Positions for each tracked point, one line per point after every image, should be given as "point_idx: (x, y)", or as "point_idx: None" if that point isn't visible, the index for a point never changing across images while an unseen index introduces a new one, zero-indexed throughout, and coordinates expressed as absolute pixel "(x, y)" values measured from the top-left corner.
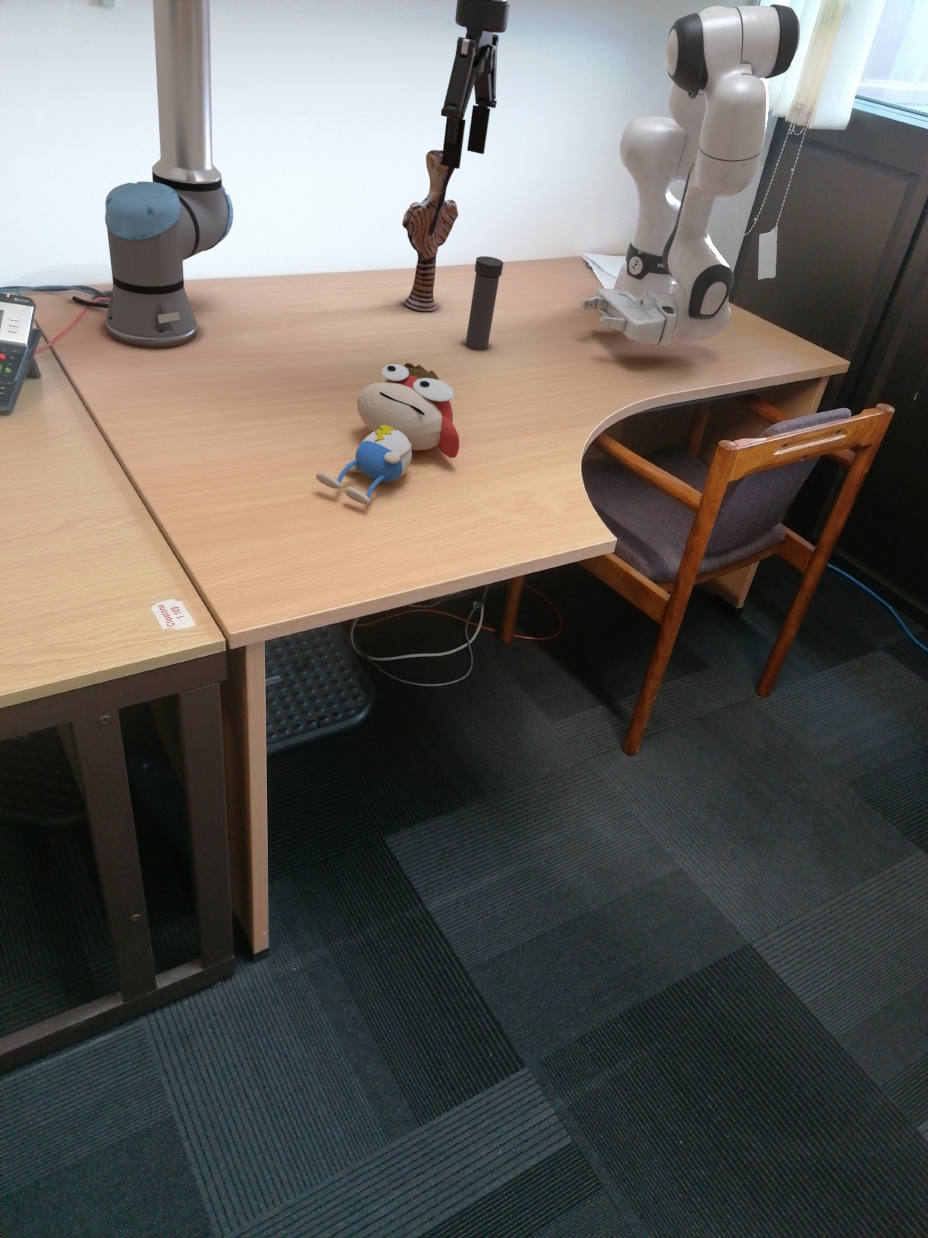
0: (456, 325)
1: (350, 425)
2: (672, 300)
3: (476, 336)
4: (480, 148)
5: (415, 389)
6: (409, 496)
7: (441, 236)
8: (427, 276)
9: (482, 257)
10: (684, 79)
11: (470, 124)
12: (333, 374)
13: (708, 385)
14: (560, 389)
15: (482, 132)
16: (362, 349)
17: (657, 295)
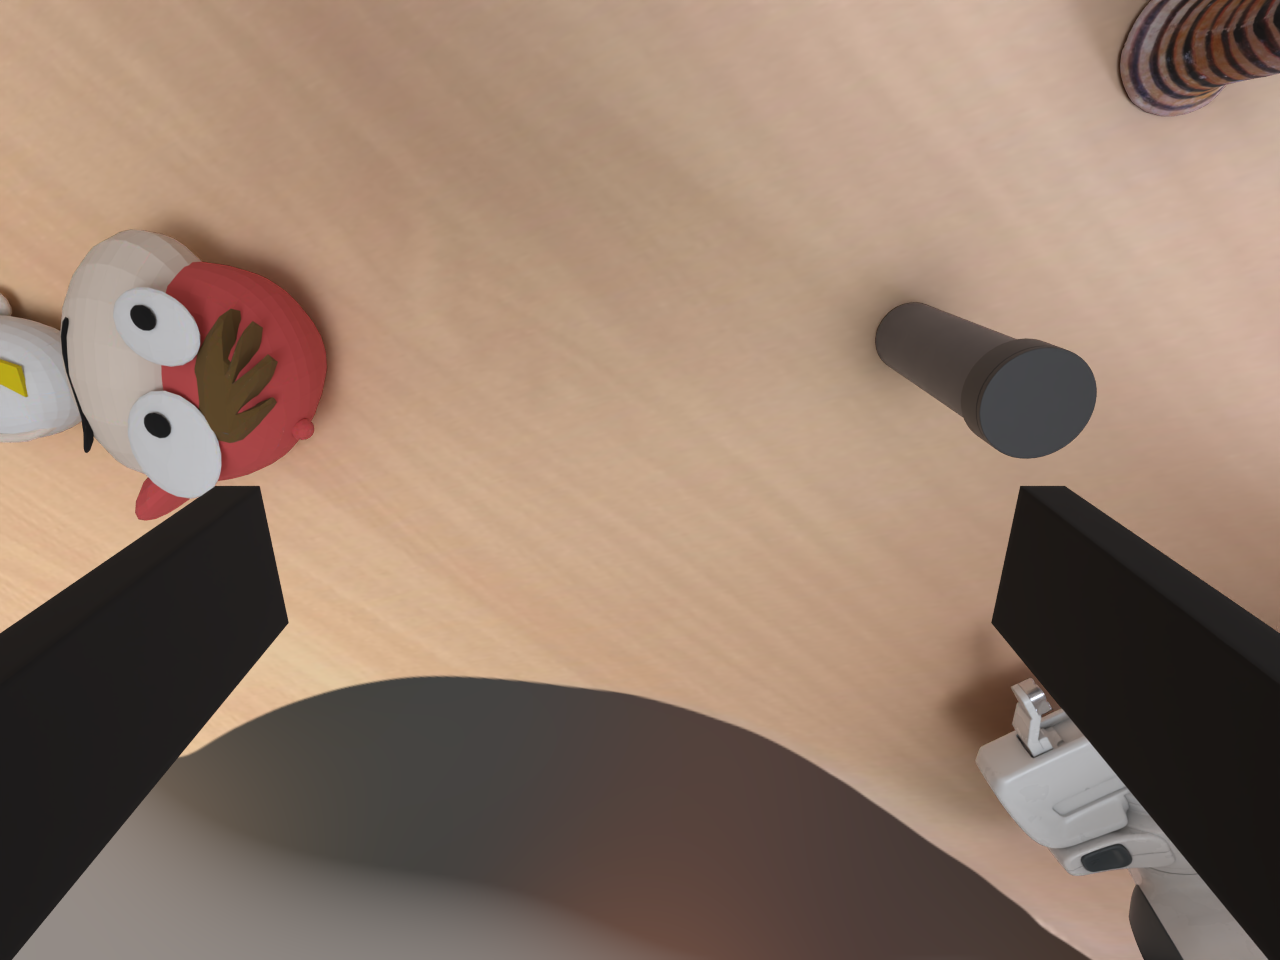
0: (1044, 231)
1: (197, 204)
2: (1178, 867)
3: (888, 347)
4: (1014, 620)
5: (134, 405)
6: (25, 445)
7: None
8: (1239, 52)
9: (1067, 366)
10: None
11: (1172, 606)
12: (441, 15)
13: (947, 851)
14: (736, 594)
15: (1089, 710)
16: (676, 17)
17: None
